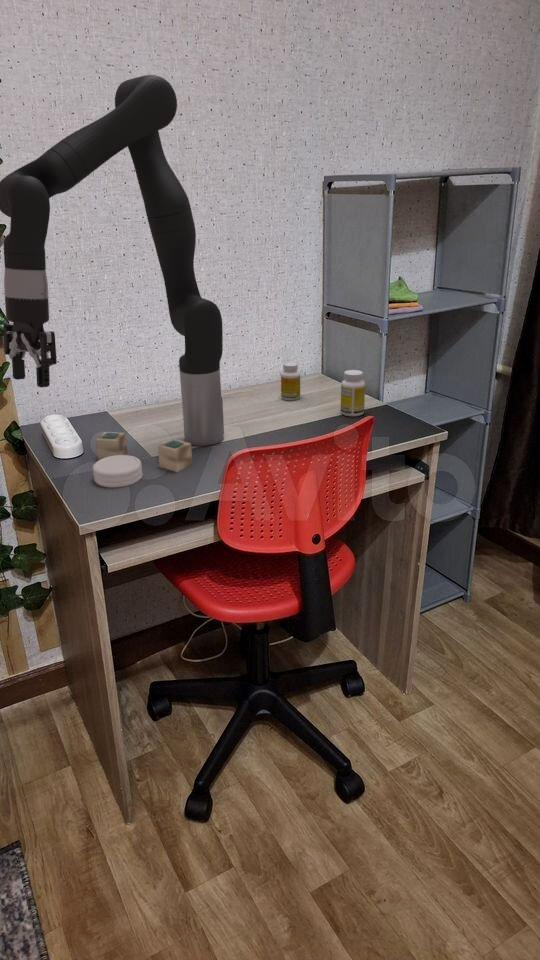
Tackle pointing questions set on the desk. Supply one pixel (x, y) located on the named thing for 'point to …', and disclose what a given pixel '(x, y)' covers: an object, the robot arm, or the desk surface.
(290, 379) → the supplement bottle
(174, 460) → the marked block
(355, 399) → the pill bottle
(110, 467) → the white round container
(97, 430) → the desk surface
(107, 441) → the marked block
